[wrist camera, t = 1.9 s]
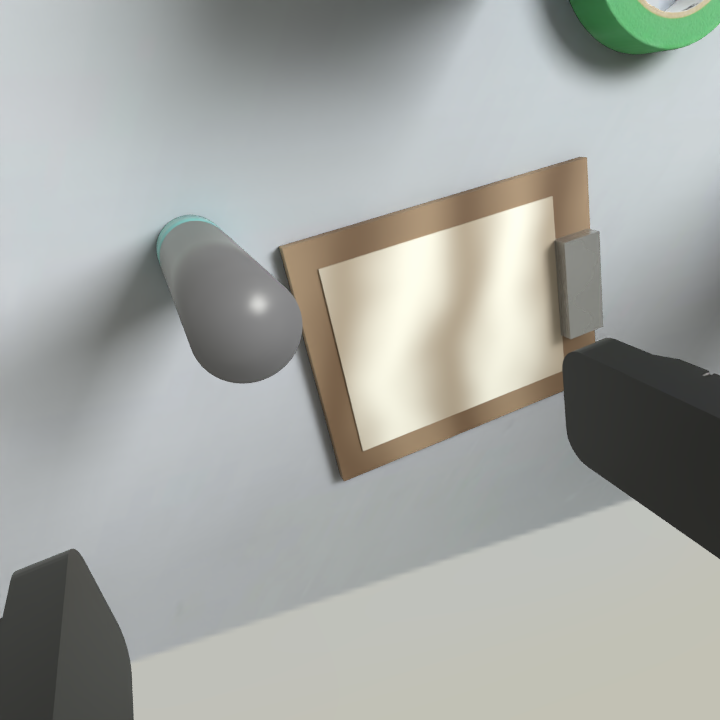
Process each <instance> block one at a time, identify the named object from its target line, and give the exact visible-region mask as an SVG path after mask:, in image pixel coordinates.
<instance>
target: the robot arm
mask: <svg viewBox="0 0 720 720" xmlns="http://www.w3.org/2000/svg"><path fill="white" fill-rule="evenodd" d="M562 373H563V387H564V400H565V414H566V428H567V435H568V439H569V442H570V444H571V447H572V449H573V450H574V452H575V454H576V455H577V456H578V458H579V459H580V460H581V461H582V462H583V463H584V464H585V465H586V466H588V467H589V468H590V469H592V470H593V471H595V472H596V473H598V474H599V475H600V476H602V477H603V478H605V479H606V480H608V481H609V482H610V483H612V484H613V485H615V486H616V487H618V488H619V489H620V490H622V491H623V492H625V493H626V494H628V495H629V496H630V497H632V498H633V499H635V500H636V501H638V502H639V503H641V504H642V505H643V506H645V507H646V508H648V509H649V510H651V511H652V512H653V513H655V514H656V515H658V516H659V517H661V518H662V519H663V520H665V521H666V522H668V523H669V524H671V525H672V526H673V527H675V528H676V529H678V530H679V531H681V532H682V533H684V534H685V535H686V536H688V537H689V538H691V539H692V540H693V541H695V542H697V543H698V544H699V545H701V546H702V547H703V548H705V549H706V550H708V551H709V552H711V553H712V554H713V555H715V556H716V557H718V558H719V559H720V375H717V374H712V375H710V373H709V371H707V370H705V369H702V368H700V367H697V366H695V365H692V364H690V363H687V362H685V361H682V360H680V359H674V358H668V357H662V356H657V355H652V354H650V353H647V352H645V351H642V350H640V349H637V348H635V347H633V346H630V345H628V344H625V343H623V342H620V341H618V340H615V339H612V338H605V339H602V340H600V341H597V342H595V343H592V344H590V345H587V346H585V347H582V348H580V349H577V350H575V351H572V352H570V353H568V354H567V355H566V356H565V358H564V360H563V364H562ZM0 720H134V719H133V696H132V673H131V664H130V658H129V654H128V650H127V646H126V643H125V640H124V637H123V634H122V632H121V629H120V627H119V625H118V623H117V621H116V619H115V617H114V616H113V614H112V612H111V610H110V608H109V606H108V604H107V602H106V600H105V599H104V597H103V595H102V593H101V591H100V589H99V587H98V585H97V583H96V582H95V580H94V578H93V576H92V574H91V572H90V570H89V568H88V566H87V565H86V563H85V561H84V559H83V557H82V556H81V555H80V553H79V552H78V551H77V550H75V549H70V550H68V551H65V552H63V553H60V554H58V555H55V556H53V557H50V558H48V559H45V560H43V561H40V562H37V563H35V564H32V565H30V566H27V567H25V568H22V569H20V570H17V571H15V572H14V573H13V575H12V578H11V581H10V586H9V590H8V595H7V600H6V604H5V609H4V613H3V618H1V619H0Z"/></svg>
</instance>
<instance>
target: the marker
mask: <svg viewBox="0 0 720 720" xmlns="http://www.w3.org/2000/svg"><path fill="white" fill-rule="evenodd" d="M156 251H157V257H158V260H159V263H160V266H161V268H162V271H163V274H164V276H165V279H166V282H167V285H168V287H169V290H170V293H171V295H172V298H173V301H174V304H175V306H176V309H177V312H178V314H179V317H180V320H181V323H182V325H183V328H184V331H185V333H186V336H187V339H188V341H189V344H190V347H191V349H192V352H193V354H194V356H195V358H196V359H197V361H198V362H199V363H200V364H201V366H202V367H203V368H204V369H205V370H207V371H208V372H209V373H211V374H212V375H213V376H215V377H217V378H219V379H222V380H225V381H228V382H233V383H252V382H257V381H261V380H264V379H266V378H269V377H271V376H272V375H274V374H276V373H277V372H279V371H280V370H281V369H282V368H283V367H285V366H286V365H287V364H288V362H289V361H290V360H291V359H292V357H293V356H294V354H295V353H296V350H297V348H298V346H299V343H300V340H301V336H302V327H303V325H302V316H301V311H300V308H299V306H298V304H297V302H296V300H295V298H294V297H293V295H292V294H291V293H290V292H289V290H288V289H287V288H286V287H284V286H283V285H282V284H281V283H280V282H279V281H278V280H277V279H276V278H274V277H273V276H272V275H271V274H270V273H269V272H268V271H267V270H265V269H264V268H263V267H262V266H261V265H260V264H259V263H258V262H257V261H255V260H254V259H253V258H252V257H251V256H250V255H249V254H248V253H247V252H245V251H244V250H243V249H242V248H241V247H240V246H239V245H238V244H236V243H235V242H234V241H233V240H232V239H231V238H230V237H229V236H228V235H226V234H225V233H224V232H223V231H222V230H221V229H220V228H219V227H218V226H216V225H215V224H214V223H213V222H211V221H210V220H208V219H206V218H204V217H201V216H196V215H185V216H180V217H178V218H175V219H173V220H172V221H170V222H169V223H168V224H167V225H166V226H165V227H164V228H163V229H162V231H161V232H160V234H159V237H158V240H157V245H156Z"/></svg>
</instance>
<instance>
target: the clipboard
mask: <svg viewBox="0 0 720 720" xmlns="http://www.w3.org/2000/svg"><path fill="white" fill-rule="evenodd" d="M279 249H280V253H281V256H282V260H283V264H284V267H285V271H286V275H287V279H288V282H289V286H290V290H291V293H292V295H293V297H294V298H295V300H296V302H297V304H298V306H299V308H300V311H301V316H302V325H303V327H302V334H303V338H304V342H305V345H306V349H307V353H308V356H309V360H310V364H311V368H312V371H313V375H314V379H315V382H316V386H317V390H318V394H319V397H320V401H321V405H322V408H323V412H324V416H325V420H326V423H327V427H328V431H329V434H330V438H331V442H332V446H333V449H334V453H335V457H336V460H337V464H338V468H339V472H340V475H341V477H342V479H343V480H344V481H346V480H349V479H351V478H353V477H356V476H358V475H361V474H363V473H366V472H368V471H370V470H373V469H375V468H378V467H380V466H382V465H385V464H387V463H390V462H392V461H395V460H397V459H399V458H402V457H404V456H407V455H409V454H412V453H414V452H416V451H419V450H421V449H424V448H426V447H428V446H431V445H433V444H436V443H438V442H441V441H443V440H445V439H448V438H450V437H453V436H455V435H458V434H460V433H462V432H465V431H467V430H470V429H472V428H474V427H477V426H479V425H482V424H484V423H487V422H489V421H491V420H494V419H496V418H499V417H501V416H504V415H506V414H508V413H511V412H513V411H516V410H518V409H520V408H523V407H525V406H528V405H530V404H533V403H535V402H537V401H540V400H542V399H545V398H547V397H550V396H552V395H554V394H557V393H559V392H562V391H564V387H563V373H562V364H563V360H564V358H565V356H566V355H567V354H568V353H570V352H572V351H575V350H577V349H580V348H582V347H585V346H587V345H590V344H592V343H595V330H596V329H598V328H601V327H603V316H602V290H601V264H600V238H599V231H596V230H592V229H590V218H589V195H588V173H587V157H578V158H575V159H571V160H568V161H565V162H561V163H558V164H555V165H551V166H548V167H545V168H541V169H538V170H534V171H531V172H528V173H524V174H521V175H518V176H514V177H511V178H508V179H504V180H501V181H498V182H494V183H491V184H487V185H484V186H481V187H477V188H474V189H471V190H467V191H464V192H461V193H457V194H454V195H450V196H447V197H444V198H440V199H437V200H434V201H430V202H427V203H424V204H420V205H417V206H414V207H410V208H407V209H403V210H400V211H397V212H393V213H390V214H387V215H383V216H380V217H377V218H373V219H370V220H367V221H363V222H360V223H356V224H353V225H350V226H346V227H343V228H340V229H336V230H333V231H330V232H326V233H323V234H319V235H316V236H313V237H309V238H306V239H303V240H299V241H296V242H293V243H289V244H286V245H283V246H279Z"/></svg>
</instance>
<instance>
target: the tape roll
mask: <svg viewBox="0 0 720 720" xmlns="http://www.w3.org/2000/svg"><path fill="white" fill-rule="evenodd" d="M569 1H570V3H571V6H572V8H573V10H574V12H575V14H576V16H577V17H578V19H579V20H580V22H581V23H582V25H583V26H584V27H585V28H586V30H587V31H588V32H589V33H590V34H591V35H592V36H593V37H594V38H595V39H596V40H597V41H599V42H600V43H601V44H603V45H605V46H606V47H608V48H610V49H612V50H615V51H617V52H621V53H626V54H645V53H652V52H659V51H666V50H673V49H678V48H682V47H685V46H688V45H690V44H692V43H694V42H696V41H698V40H700V39H702V38H703V37H705V36H706V35H707V34H708V33H710V32H711V31H712V30H713V29H714V28H715V27H716V26H717V25H718V24H719V23H720V0H677V1H676V2H675V3H674V4H673V5H672V6H671V7H669V8H668V9H667V10H665V11H661V10H659V9H657V8H655V7H654V6H651V5H650V4H648V3H647V2H646V1H645V0H569Z"/></svg>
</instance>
